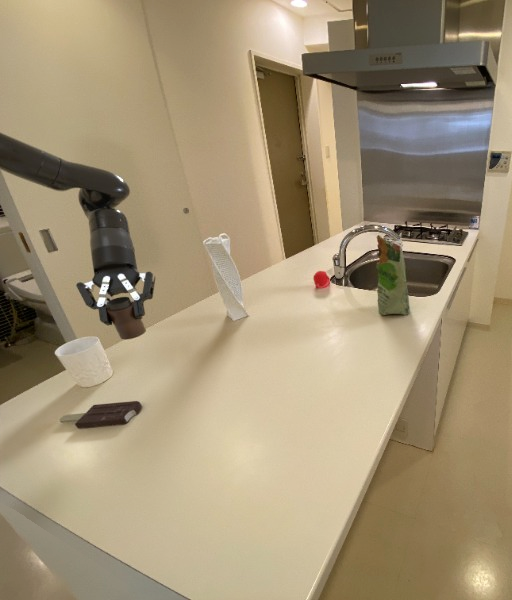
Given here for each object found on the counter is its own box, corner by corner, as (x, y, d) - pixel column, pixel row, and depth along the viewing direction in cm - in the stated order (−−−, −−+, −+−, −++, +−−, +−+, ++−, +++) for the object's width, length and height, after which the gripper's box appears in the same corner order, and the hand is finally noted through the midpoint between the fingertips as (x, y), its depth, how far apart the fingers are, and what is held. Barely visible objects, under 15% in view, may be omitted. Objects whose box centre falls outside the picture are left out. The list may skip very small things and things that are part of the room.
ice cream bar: (52, 431, 67) (130, 424, 68) (48, 426, 66) (127, 418, 67) (72, 412, 71) (145, 405, 73) (68, 406, 71) (142, 399, 72)
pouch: (405, 321, 103) (404, 245, 91) (369, 317, 105) (364, 242, 94) (413, 305, 112) (413, 234, 101) (380, 301, 115) (377, 232, 103)
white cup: (94, 391, 77) (74, 357, 73) (66, 387, 78) (44, 354, 74) (124, 369, 84) (107, 337, 79) (98, 366, 85) (80, 335, 81)
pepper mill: (115, 340, 72) (98, 307, 68) (128, 328, 76) (113, 296, 72) (138, 338, 72) (123, 305, 69) (150, 327, 77) (136, 295, 73)
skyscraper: (254, 315, 108) (233, 232, 95) (231, 324, 103) (206, 238, 90) (244, 307, 113) (222, 228, 100) (222, 315, 108) (196, 233, 95)
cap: (331, 289, 125) (329, 274, 122) (316, 291, 123) (313, 277, 120) (329, 281, 132) (327, 267, 129) (313, 283, 130) (311, 269, 127)
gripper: (63, 249, 68) (71, 324, 65) (144, 239, 74) (157, 308, 70) (82, 265, 75) (91, 334, 71) (156, 254, 81) (168, 318, 77)
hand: (123, 320), depth 71 cm, fingers closed on pepper mill, 5 cm apart
